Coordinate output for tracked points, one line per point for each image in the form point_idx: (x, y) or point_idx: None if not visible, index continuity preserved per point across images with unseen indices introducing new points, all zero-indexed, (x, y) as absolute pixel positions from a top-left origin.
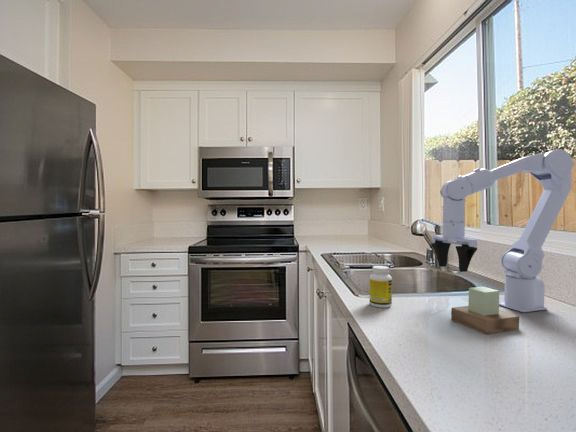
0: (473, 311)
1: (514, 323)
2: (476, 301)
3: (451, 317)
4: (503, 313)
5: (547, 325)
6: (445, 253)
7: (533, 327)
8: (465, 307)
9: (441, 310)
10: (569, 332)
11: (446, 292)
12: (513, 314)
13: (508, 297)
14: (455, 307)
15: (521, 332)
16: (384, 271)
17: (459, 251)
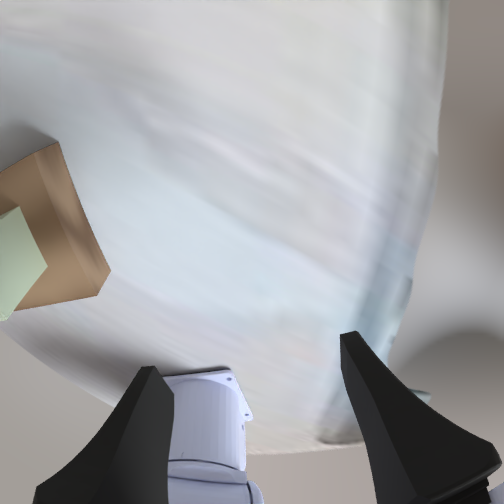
0: (5, 213)
1: None
2: None
3: (54, 144)
4: None
5: (71, 359)
6: (370, 448)
7: (48, 327)
8: (42, 211)
9: (163, 153)
10: (43, 361)
11: (400, 303)
12: (18, 309)
13: (194, 400)
14: (36, 170)
15: None
16: None
17: (72, 485)
